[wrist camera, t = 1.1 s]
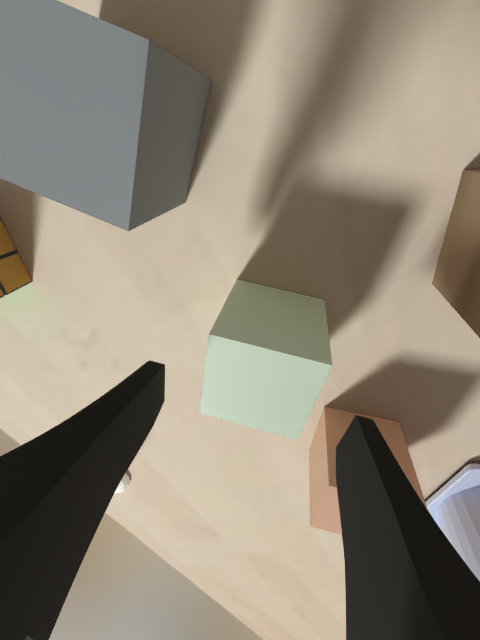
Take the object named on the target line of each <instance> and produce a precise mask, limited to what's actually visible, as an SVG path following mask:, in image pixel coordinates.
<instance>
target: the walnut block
mask: <svg viewBox="0 0 480 640" xmlns="http://www.w3.org/2000/svg"><path fill="white" fill-rule="evenodd" d="M432 284H433V285H434V286H435V287H436V289H437V290H438V291H439V292H440V293H441V294H442V295H443V297H444V298H445V299H446V300H447V301H448V302H449V303H450V305H451V306H452V307H453V308H454V309H455V310H456V311H457V313H458V314H459V315H460V316H461V317H462V318H463V319H464V320H465V322H466V323H467V324H468V325H469V326H470V327H471V328H472V330H473V331H474V332H475V333H476V334H477V335H478V336H479V338H480V168H477V169H465V170H463V172H462V176H461V180H460V183H459V187H458V191H457V194H456V198H455V202H454V205H453V209H452V213H451V216H450V220H449V224H448V227H447V231H446V235H445V238H444V242H443V245H442V249H441V253H440V256H439V260H438V264H437V267H436V271H435V275H434V278H433V282H432Z"/></svg>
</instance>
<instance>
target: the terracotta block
mask: <svg viewBox="0 0 480 640" xmlns="http://www.w3.org/2000/svg"><path fill="white" fill-rule="evenodd" d="M356 415H358V416H362V417H365V418H369V419H373V420H374V422H375V424H376V425H377V427H378V429H379V431H380V432H381V434H382V436H383V438H384V439H385V441H386V443H387V445H388V446H389V448H390V450H391V451H392V453H393V455H394V457H395V458H396V460H397V462H398V463H399V465H400V467H401V469H402V470H403V472H404V473H405V475H406V477H407V478H408V480H409V482H410V483H411V485H412V486H413V488H414V490H415V491H416V493H417V494H418V496H419V498H420V499H421V501H422V502H423V504H424V505H425V507H426V508H427V506H426V503H425V500H424V497H423V494H422V491H421V488H420V485H419V482H418V479H417V475H416V472H415V469H414V466H413V463H412V460H411V457H410V454H409V451H408V448H407V445H406V442H405V439H404V435H403V432H402V429H401V426H400V423H399V422H398V421H393V420H388V419H383V418H378V417H373V416H368V415H363V414H358V413H354V412H349V411H344V410H339V409H334V408H329V407H324V408H323V411H322V414H321V417H320V420H319V423H318V425H317V428H316V431H315V434H314V437H313V440H312V443H311V445H310V448H309V466H310V526H311V527H315V528H319V529H323V530H327V531H331V532H334V533H338V534H342V529H341V520H340V511H339V503H338V493H337V484H336V447H337V445H338V443H339V442H340V440H341V438H342V437H343V435H344V433H345V432H346V430H347V429H348V427H349V425H350V424H351V422H352V420H353V419H354V417H355V416H356Z"/></svg>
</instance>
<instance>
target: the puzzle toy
mask: <svg viewBox="0 0 480 640" xmlns="http://www.w3.org/2000/svg"><path fill="white" fill-rule="evenodd" d="M16 250H17V249H16V247H15V245H14V243H13V241H12V239H11V237H10V235H9V233H8V231H7V229H6V227H5V225H4V223H3V221H2V219H1V218H0V298H2V297H3V296H5V295H7V294H9V293H11V292H13V291H15V290H17V289H19V288H21V287H23V286H25V285H27V284H29V283H31V282H32V279H31V277H30V275H29V273H28V271H27V269H26V267H25V265H24V263H23V261H22V259H21V257H20V255H19V253H18V252H17V251H16Z"/></svg>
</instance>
